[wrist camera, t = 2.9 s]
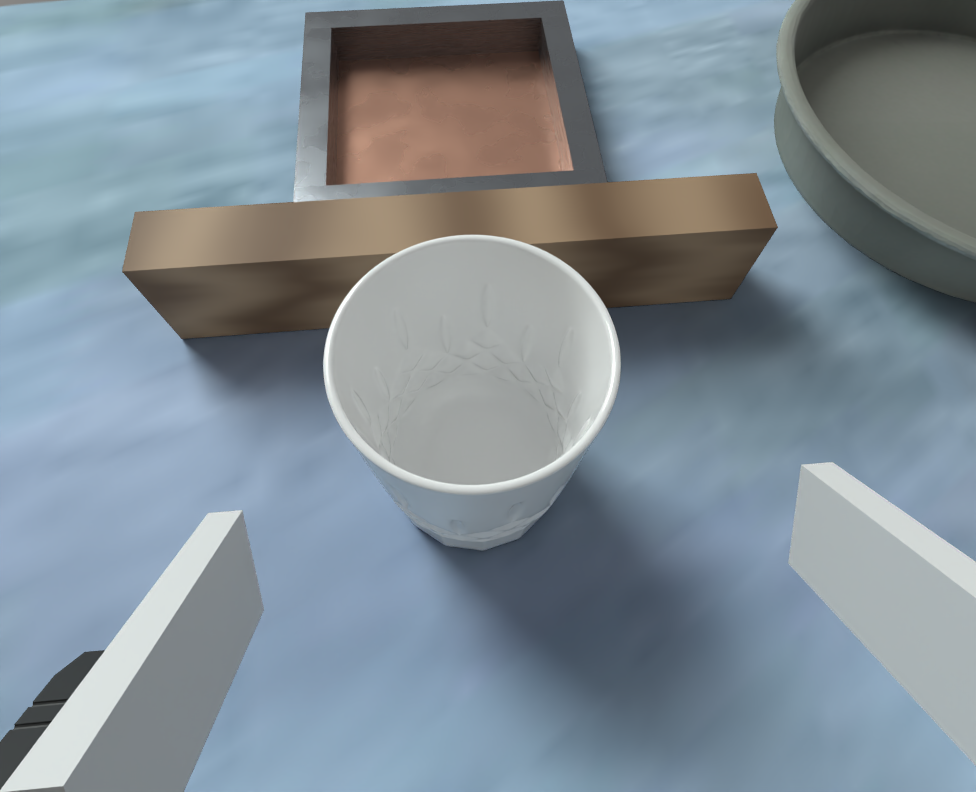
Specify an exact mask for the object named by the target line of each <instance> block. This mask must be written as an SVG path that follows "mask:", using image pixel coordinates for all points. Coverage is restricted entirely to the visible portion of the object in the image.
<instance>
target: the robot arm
mask: <svg viewBox="0 0 976 792" xmlns="http://www.w3.org/2000/svg"><path fill="white" fill-rule="evenodd" d="M788 563H789V564H790V566H791V567H792V568H793V569H794V570H795V571H796V572H797V573H798V574H799V575H800V576H801V577H802V579H803V580H804V581H805V582H806V583H807V584H808V585H809V586H810V587H811V588H812V589H813V590H814V592H815V593H816V594H817V595H818V596H819V597H820V598H821V599H822V600H823V601H824V602H825V603H826V604H827V606H828V607H829V608H830V609H831V610H832V611H833V612H834V613H835V614H836V615H837V616H838V617H839V619H840V620H841V621H842V622H843V623H844V624H845V625H846V626H847V627H848V628H849V629H850V630H851V632H852V633H853V634H854V635H855V636H856V637H857V638H858V639H859V640H860V641H861V642H862V643H863V645H864V646H865V647H866V648H867V649H868V650H869V651H870V652H871V653H872V654H873V655H874V656H875V657H876V659H877V660H878V661H879V662H880V663H881V664H882V665H883V666H884V667H885V668H886V669H887V670H888V672H889V673H890V674H891V675H892V676H893V677H894V678H895V679H896V680H897V681H898V682H899V683H900V685H901V686H902V687H903V688H904V689H905V690H906V691H907V692H908V693H909V694H910V695H911V696H912V697H913V699H914V700H915V701H916V702H917V703H918V704H919V705H920V706H921V707H922V708H923V709H924V710H925V712H926V713H927V714H928V715H929V716H930V717H931V718H932V719H933V720H934V721H935V722H936V723H937V725H938V726H939V727H940V728H941V729H942V730H943V731H944V732H945V733H946V734H947V735H948V736H949V738H950V739H951V740H952V741H953V742H954V743H955V744H956V745H957V746H958V747H959V748H960V749H961V750H962V752H963V753H964V754H965V755H966V756H967V757H968V758H969V759H970V760H971V761H972V762H973V763H974V765H975V766H976V562H975V561H974V560H972V559H971V558H969V557H968V556H966V555H965V554H964V553H962V552H961V551H959V550H958V549H956V548H955V547H954V546H952V545H951V544H949V543H948V542H946V541H945V540H943V539H942V538H941V537H939V536H938V535H936V534H935V533H933V532H932V531H931V530H929V529H928V528H926V527H925V526H923V525H922V524H920V523H919V522H918V521H916V520H915V519H913V518H912V517H910V516H909V515H908V514H906V513H905V512H903V511H902V510H900V509H899V508H897V507H896V506H895V505H893V504H892V503H890V502H889V501H887V500H886V499H884V498H883V497H882V496H880V495H879V494H877V493H876V492H874V491H873V490H872V489H870V488H869V487H867V486H866V485H864V484H863V483H861V482H860V481H859V480H857V479H856V478H854V477H853V476H851V475H850V474H849V473H847V472H846V471H844V470H843V469H841V468H840V467H838V466H837V465H836V464H834V463H833V462H830V463H818V464H805V465H801V470H800V478H799V486H798V493H797V501H796V509H795V516H794V524H793V532H792V539H791V547H790V555H789V562H788ZM263 611H264V607H263V603H262V598H261V593H260V589H259V584H258V580H257V575H256V571H255V566H254V562H253V557H252V552H251V548H250V543H249V539H248V534H247V530H246V525H245V520H244V516H243V511H242V510H240V511H227V512H215V513H208V514H207V515H206V517H205V518H204V519H203V521H202V522H201V523H200V525H199V526H198V527H197V529H196V530H195V531H194V533H193V534H192V535H191V537H190V538H189V539H188V541H187V542H186V543H185V545H184V546H183V547H182V549H181V550H180V551H179V553H178V554H177V555H176V557H175V558H174V559H173V561H172V562H171V563H170V565H169V566H168V567H167V569H166V570H165V571H164V573H163V574H162V575H161V577H160V578H159V579H158V581H157V582H156V583H155V585H154V586H153V587H152V589H151V590H150V591H149V593H148V594H147V595H146V597H145V598H144V599H143V601H142V602H141V603H140V605H139V606H138V607H137V609H136V610H135V611H134V613H133V614H132V615H131V617H130V618H129V619H128V621H127V622H126V623H125V625H124V626H123V627H122V629H121V630H120V631H119V633H118V634H117V635H116V637H115V638H114V639H113V641H112V642H111V643H110V645H109V646H108V647H107V649H106V650H102V651H91V652H84V653H83V654H82V655H80V656H79V657H78V658H76V659H75V660H74V661H73V662H71V663H70V664H69V665H67V666H66V667H65V668H64V669H62V670H61V671H60V672H58V673H57V674H56V675H55V676H54V677H53V678H52V679H51V680H50V682H49V683H48V684H47V685H46V686H45V688H44V689H43V690H42V691H41V693H40V694H39V695H38V696H37V697H36V699H35V700H34V701H33V706H32V707H28V708H27V710H26V711H25V712H24V713H23V715H22V716H21V717H20V718H19V720H18V721H17V722H16V723H15V727H14V729H13V730H10V731H9V732H8V733H7V734H6V735H5V737H4V738H3V739H2V740H1V742H0V792H184V790H185V788H186V785H187V783H188V781H189V779H190V776H191V774H192V772H193V770H194V767H195V765H196V763H197V760H198V758H199V756H200V754H201V751H202V749H203V747H204V745H205V742H206V740H207V738H208V736H209V733H210V731H211V729H212V727H213V724H214V722H215V720H216V717H217V715H218V713H219V711H220V708H221V706H222V704H223V702H224V699H225V697H226V695H227V693H228V690H229V688H230V686H231V683H232V681H233V679H234V677H235V674H236V672H237V670H238V668H239V665H240V663H241V661H242V659H243V656H244V654H245V652H246V650H247V647H248V645H249V643H250V640H251V638H252V636H253V634H254V631H255V629H256V627H257V625H258V622H259V620H260V618H261V616H262V613H263Z"/></svg>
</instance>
